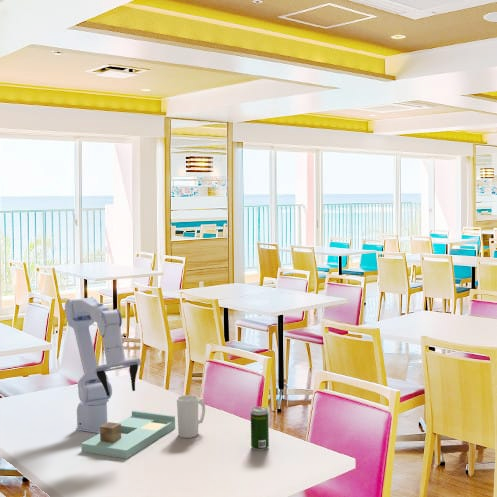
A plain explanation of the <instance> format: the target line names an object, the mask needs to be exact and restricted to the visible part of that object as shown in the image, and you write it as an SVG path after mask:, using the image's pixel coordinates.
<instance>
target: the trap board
mask: <svg viewBox="0 0 497 497" xmlns="http://www.w3.org/2000/svg"><path fill="white" fill-rule="evenodd" d="M118 423H119V424H121V439H119V440H117V441H116V442H114V443H109V442H103V441H100V433H97V434H95V435H94V436H93V437H90V438H89V439H87V440H85V441H83V442H81V443H80V444H81V446H80V447H81V453H82V452H83V453H87V454H94V455H101V456H108V457H114V458H120V459H126V460H127V459H129V458H131V457H132V456H133V455H136V454H137V453H138V452H140V451H141V450H143V449H144V448H146V447H148V446H149V445H150V444H152V443H154V442H155V441H156V440H158V439H159V438H162V437H163V436H164V435H167V434H168V433H170V432H171V431H173V430H174V429H176V415H172V414H164V413H163V414H162V413H155V412H147V411H146V412H145V411H139V410H132V411H131V416H128V417H127V418H125V419H123V420H121V421H120V422H118Z"/></svg>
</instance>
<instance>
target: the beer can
mask: <svg viewBox="0 0 497 497" xmlns="http://www.w3.org/2000/svg"><path fill="white" fill-rule="evenodd" d="M269 427H270V425H269V410H268V408H267V407H265V406H254V407H251V410H250V446H251V449H252V450H253V451H257V452H263V451H266V450H268V449H269V446H270V440H269V437H270V436H269V435H270V434H269V432H270V431H269Z"/></svg>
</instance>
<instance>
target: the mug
mask: <svg viewBox="0 0 497 497" xmlns="http://www.w3.org/2000/svg"><path fill="white" fill-rule="evenodd" d="M199 405H200V406H201V414H200V416H199ZM176 408H177V410H176V411H177V412H176V413H177V430H178V436H179V437H180V438H183V439H191V438H195V437H198V436H199V424H202V423H203V422H204V419H205V415H206V405H205V402H204V398H203V397H199V396H197V395H194V394H193V395H192V394H185V395H180V396H177V398H176Z"/></svg>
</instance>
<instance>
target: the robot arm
mask: <svg viewBox="0 0 497 497" xmlns="http://www.w3.org/2000/svg"><path fill="white" fill-rule="evenodd" d="M120 311H121V310H119V309H118V308H115V309H110V308H109V307H108V306H107V305H104V303H103V302H98V300H97V299H96V297H95V296H91V297H84V298H73V299H72V298H71V299H70V298H69V299H67V300H66V301H65V304H64V313H65V318H66V322H67V324H68V327H71V329H73V332H74V335H75V340H76V343H77V348H78V353H79V357H80V361H81V365H82V366H81V367H82V371H83V375H82V376H81V377H80V379H79V380H78V382H77V389H78V390H77V392H78V393H77V394H78V399H79V401H80V402H79V403H78V405H77V408H76V425H77V426H76V428H75V430H76V431H82V432H87V433H88V432H89V433H96V434H100V426H102V425H104V424H106V423H108V403H109V400H110V399H111V397H112V396H113V387H112V384H111V382H110V379H109V377H108V375H107V374H106V372H109V371H115V370H116V371H117V370H121V369H126V368H128V371H129V376H130V382H131V391H132V392H135V391H136V378H137V372H138V370H139V366H141V365H142V363H141V362H142V361H141V358H136V359H129V360H126V357H125V356H126V355H125V349H124V344H123V338H122V337H123V336H122V332H121V326H122V323H123V317H122V313H121V312H120ZM95 323H96V325H97V328H98V330H99V335H100V336H101V338H102V342H103V349H104V350H103V351H104V355H105V362H106V363H105V364H101V365H98V360H97V358H96V353H95V349H94V343H93V340H92V336H91V331H90V326H92V325H94V324H95Z"/></svg>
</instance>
